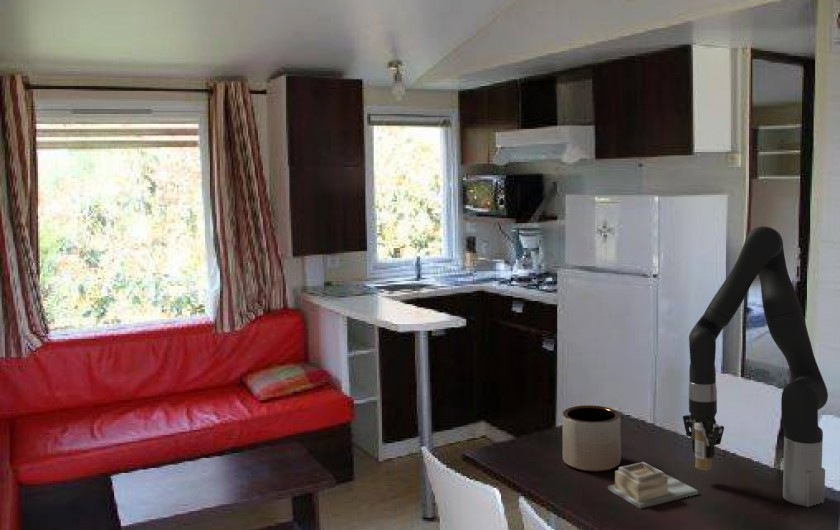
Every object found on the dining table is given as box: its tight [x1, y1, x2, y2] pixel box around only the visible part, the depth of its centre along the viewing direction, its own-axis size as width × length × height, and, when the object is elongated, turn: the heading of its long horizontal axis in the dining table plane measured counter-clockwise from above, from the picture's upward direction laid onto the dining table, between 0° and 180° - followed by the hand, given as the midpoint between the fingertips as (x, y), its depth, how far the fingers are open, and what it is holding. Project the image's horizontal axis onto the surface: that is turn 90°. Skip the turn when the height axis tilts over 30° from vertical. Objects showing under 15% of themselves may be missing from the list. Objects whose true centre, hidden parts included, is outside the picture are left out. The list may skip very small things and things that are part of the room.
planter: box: [562, 404, 622, 472], centre depth 234 cm, size 18×18×16 cm
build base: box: [607, 461, 699, 509], centre depth 212 cm, size 14×20×7 cm
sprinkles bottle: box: [694, 423, 713, 471], centre depth 216 cm, size 5×5×14 cm
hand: (703, 454), depth 216 cm, fingers closed on sprinkles bottle, 4 cm apart
